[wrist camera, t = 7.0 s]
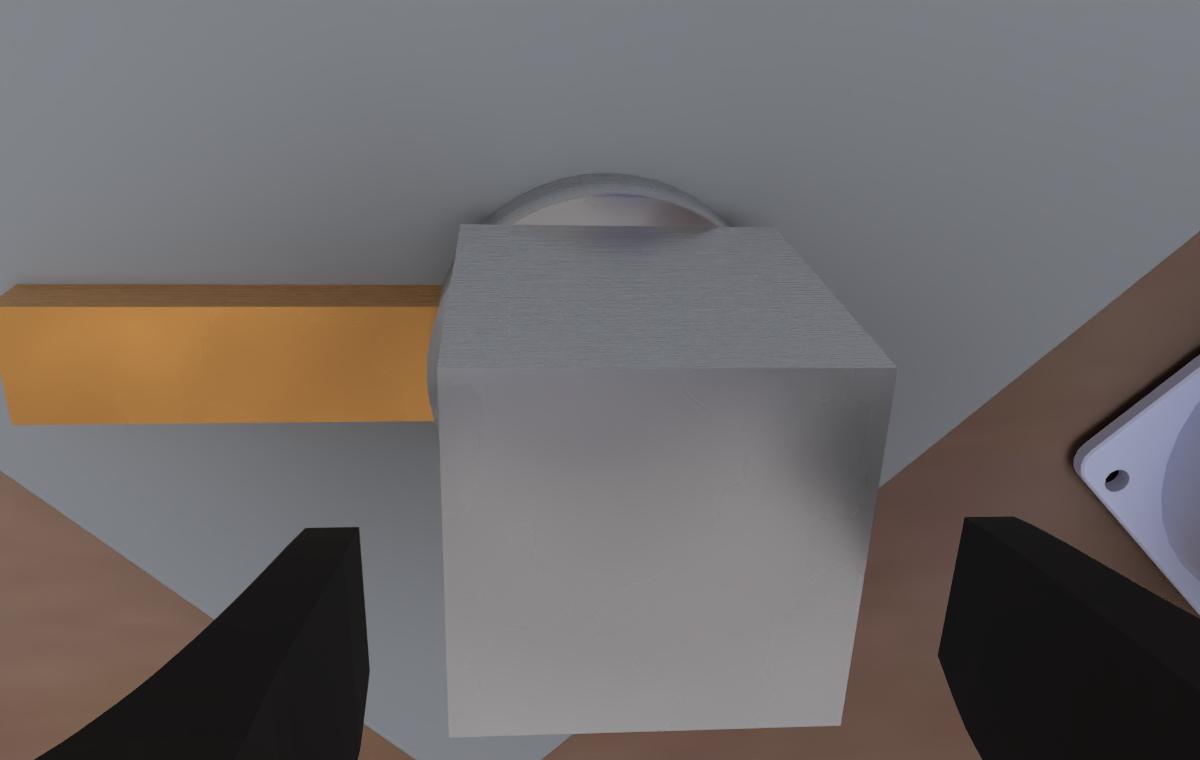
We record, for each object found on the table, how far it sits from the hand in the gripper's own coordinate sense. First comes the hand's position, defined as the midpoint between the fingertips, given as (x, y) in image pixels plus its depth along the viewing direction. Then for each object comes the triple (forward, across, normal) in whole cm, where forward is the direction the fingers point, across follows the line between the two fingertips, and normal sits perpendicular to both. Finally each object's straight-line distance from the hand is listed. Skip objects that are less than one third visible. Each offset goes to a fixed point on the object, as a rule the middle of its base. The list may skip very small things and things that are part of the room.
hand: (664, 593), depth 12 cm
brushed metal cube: (+6, 0, 0) cm, 6 cm away
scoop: (+8, +4, 0) cm, 9 cm away
